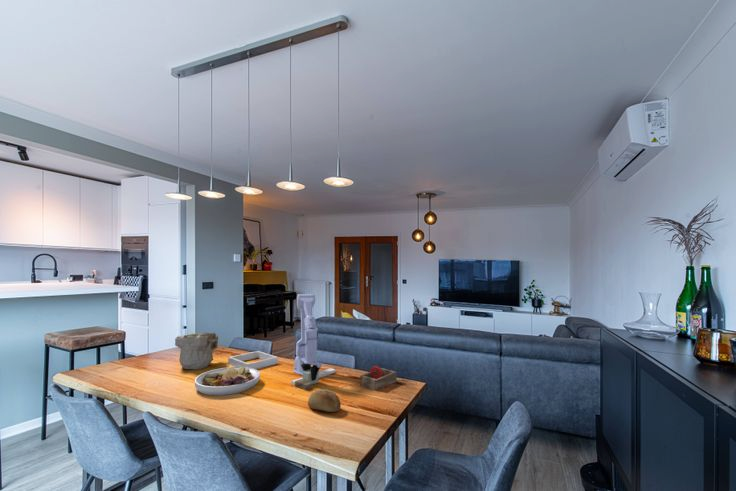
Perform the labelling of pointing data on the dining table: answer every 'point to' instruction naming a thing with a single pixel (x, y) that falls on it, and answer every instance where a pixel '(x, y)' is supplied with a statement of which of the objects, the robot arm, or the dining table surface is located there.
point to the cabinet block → (309, 376)
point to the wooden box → (379, 383)
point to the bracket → (378, 373)
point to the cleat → (303, 384)
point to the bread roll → (324, 400)
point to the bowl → (227, 380)
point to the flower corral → (265, 357)
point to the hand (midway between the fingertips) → (310, 378)
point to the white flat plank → (321, 374)
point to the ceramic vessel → (196, 349)
